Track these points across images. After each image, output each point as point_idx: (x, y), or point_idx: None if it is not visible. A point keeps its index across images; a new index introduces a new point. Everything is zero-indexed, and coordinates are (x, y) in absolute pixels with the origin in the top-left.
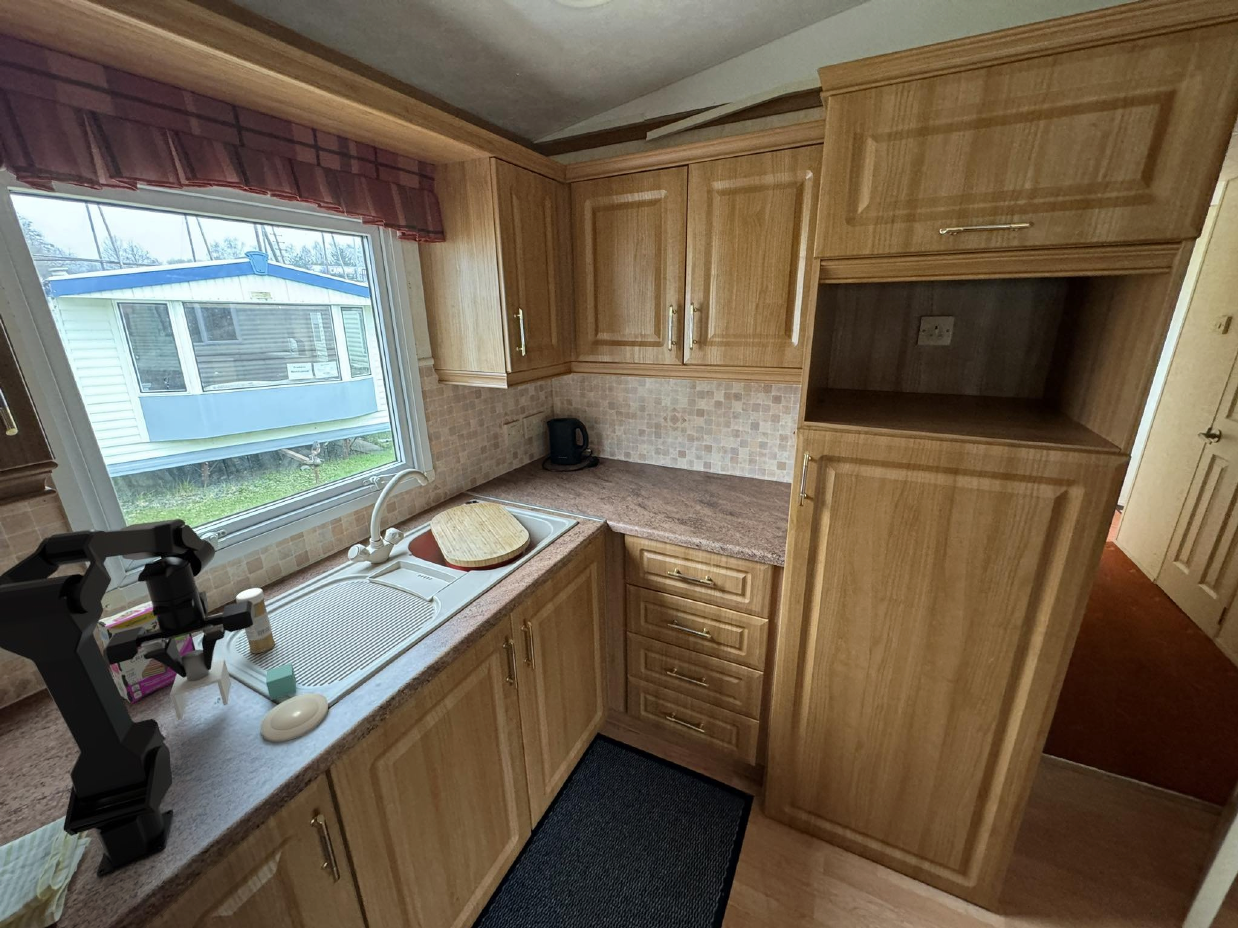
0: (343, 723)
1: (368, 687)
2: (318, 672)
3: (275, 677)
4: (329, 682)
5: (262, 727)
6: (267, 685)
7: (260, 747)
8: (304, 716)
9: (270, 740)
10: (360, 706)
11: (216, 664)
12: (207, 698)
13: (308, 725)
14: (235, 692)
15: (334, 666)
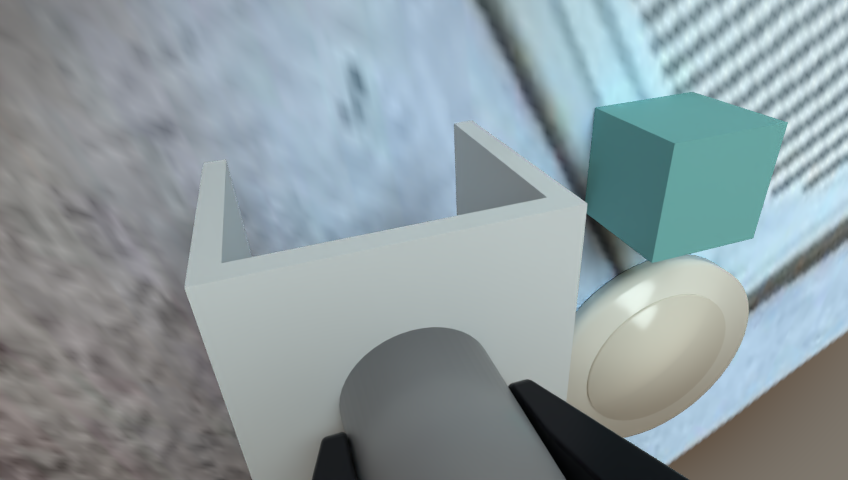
0: (730, 396)
1: (840, 269)
2: (775, 84)
3: (692, 235)
4: (776, 186)
5: None
6: (640, 253)
7: None
8: (675, 382)
9: None
10: (785, 346)
11: (528, 276)
12: (280, 37)
13: (673, 415)
14: (434, 58)
15: (835, 68)
